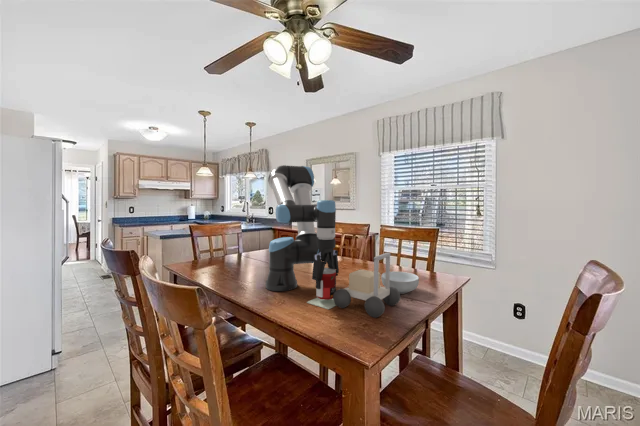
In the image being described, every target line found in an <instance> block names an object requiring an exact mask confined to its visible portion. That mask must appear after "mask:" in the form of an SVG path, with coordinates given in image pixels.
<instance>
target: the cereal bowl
mask: <svg viewBox="0 0 640 426" xmlns="http://www.w3.org/2000/svg"><path fill="white" fill-rule="evenodd" d="M380 280H381V283H382V285H383V287H385V282H386V272H383V273H382V274H381V275H380ZM419 281H420V277H419V276H418V275H417V274H415V273H412V272H406V271H398V270H397V271H393V270H392V271H390V287H394V288H396V289H397V290H398V291H399V293H400V295H402V294H408V293H409V292H412V291H414V290H416V289H417V288H418V286H419V285H420V284H419V283H420V282H419Z"/></svg>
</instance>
